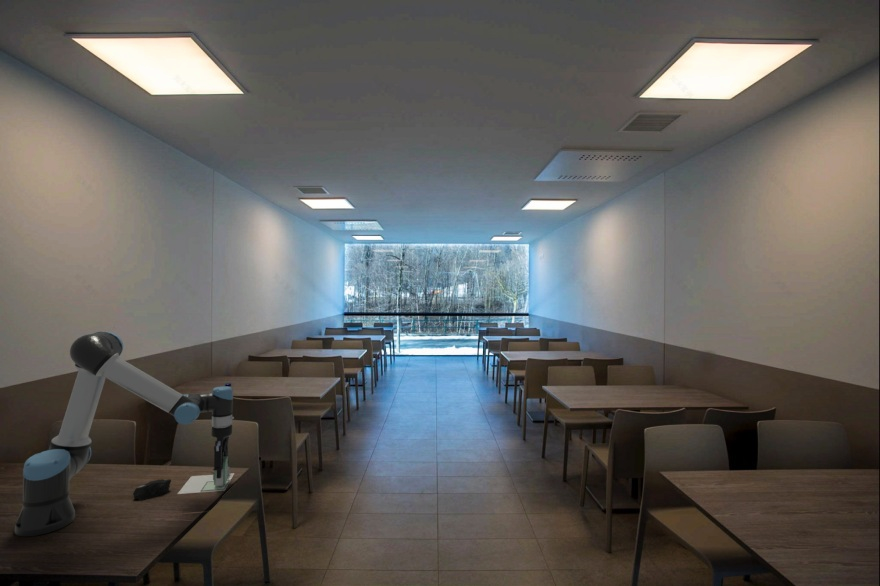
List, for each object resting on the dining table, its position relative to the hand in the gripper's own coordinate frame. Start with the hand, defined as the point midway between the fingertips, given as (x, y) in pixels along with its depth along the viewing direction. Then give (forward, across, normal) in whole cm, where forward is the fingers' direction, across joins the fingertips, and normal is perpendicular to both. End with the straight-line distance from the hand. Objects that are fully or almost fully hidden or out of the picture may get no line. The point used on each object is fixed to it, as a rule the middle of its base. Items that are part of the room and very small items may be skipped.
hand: (220, 482), depth 177 cm
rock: (+2, -2, +24) cm, 24 cm away
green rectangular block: (+1, 0, 0) cm, 1 cm away
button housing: (+2, +10, +2) cm, 10 cm away
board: (+2, +4, +6) cm, 7 cm away
